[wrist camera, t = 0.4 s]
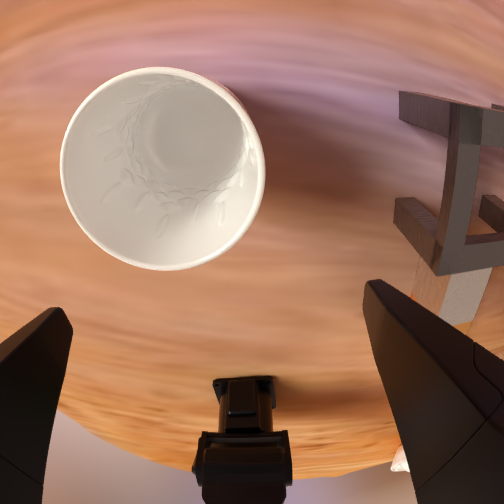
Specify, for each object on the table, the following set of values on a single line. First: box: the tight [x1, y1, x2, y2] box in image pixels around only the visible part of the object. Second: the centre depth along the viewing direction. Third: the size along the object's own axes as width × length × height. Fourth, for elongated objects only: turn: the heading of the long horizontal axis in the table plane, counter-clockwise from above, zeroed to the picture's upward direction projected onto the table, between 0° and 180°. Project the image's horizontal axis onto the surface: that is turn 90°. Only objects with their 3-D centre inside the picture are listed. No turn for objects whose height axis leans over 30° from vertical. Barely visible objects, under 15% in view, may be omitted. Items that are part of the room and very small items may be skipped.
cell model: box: [391, 445, 410, 472], centre depth 43 cm, size 10×12×7 cm
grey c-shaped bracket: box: [393, 91, 504, 277], centre depth 17 cm, size 10×11×7 cm
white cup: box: [60, 67, 266, 271], centre depth 15 cm, size 8×8×10 cm
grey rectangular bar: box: [410, 235, 493, 335], centre depth 26 cm, size 20×4×5 cm, turn 6°
